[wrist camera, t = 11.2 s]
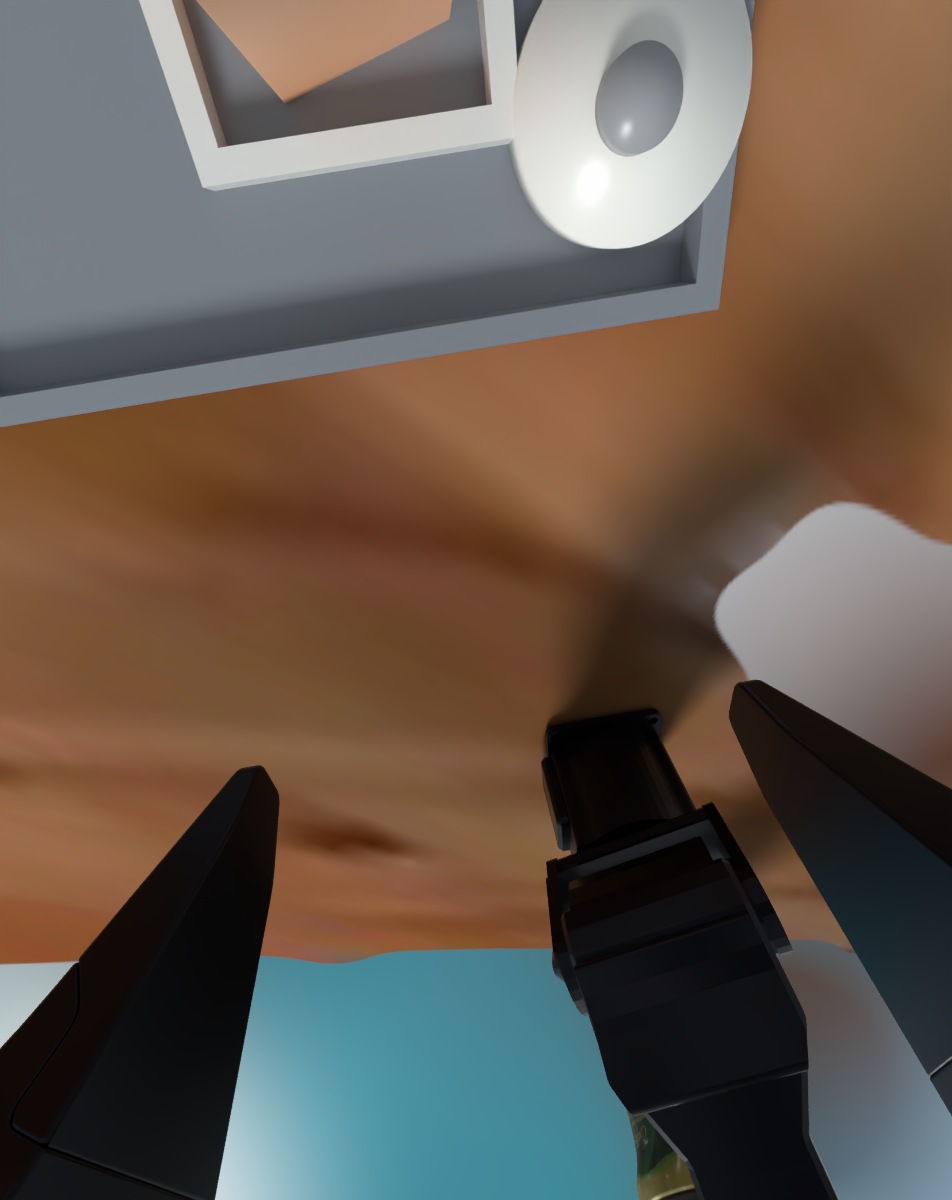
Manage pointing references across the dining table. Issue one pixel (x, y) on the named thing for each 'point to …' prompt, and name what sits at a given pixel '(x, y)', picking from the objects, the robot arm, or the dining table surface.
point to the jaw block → (319, 35)
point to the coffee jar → (659, 1165)
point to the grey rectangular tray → (350, 192)
